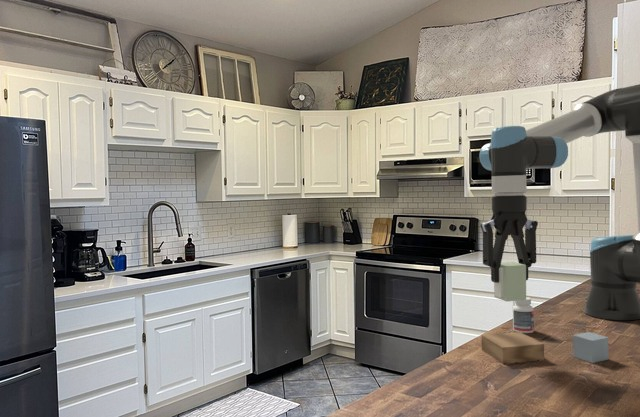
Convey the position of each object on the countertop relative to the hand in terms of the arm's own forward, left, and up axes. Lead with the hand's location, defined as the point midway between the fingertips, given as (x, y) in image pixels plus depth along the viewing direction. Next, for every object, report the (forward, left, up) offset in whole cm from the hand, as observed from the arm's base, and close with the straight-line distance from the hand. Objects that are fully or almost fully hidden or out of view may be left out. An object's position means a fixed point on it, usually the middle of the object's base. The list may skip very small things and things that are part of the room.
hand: (510, 295), depth 122 cm
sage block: (0, 0, -1) cm, 1 cm away
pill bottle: (-14, -16, -14) cm, 26 cm away
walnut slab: (0, 0, -14) cm, 14 cm away
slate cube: (-15, +7, -14) cm, 22 cm away
